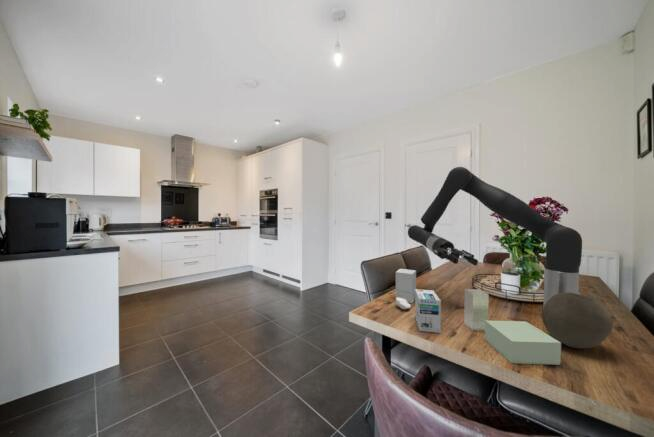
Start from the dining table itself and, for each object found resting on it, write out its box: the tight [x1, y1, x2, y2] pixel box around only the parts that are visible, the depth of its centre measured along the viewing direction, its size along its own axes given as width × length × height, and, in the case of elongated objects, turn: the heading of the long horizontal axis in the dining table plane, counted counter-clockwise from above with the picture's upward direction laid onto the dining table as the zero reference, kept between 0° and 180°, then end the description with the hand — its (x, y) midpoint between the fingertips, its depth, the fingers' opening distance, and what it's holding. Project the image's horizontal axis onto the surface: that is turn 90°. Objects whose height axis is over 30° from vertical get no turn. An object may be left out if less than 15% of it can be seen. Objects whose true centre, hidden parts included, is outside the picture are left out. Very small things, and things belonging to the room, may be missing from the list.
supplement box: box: [395, 268, 417, 304], centre depth 109 cm, size 7×7×13 cm
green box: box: [484, 320, 562, 366], centre depth 69 cm, size 12×12×6 cm
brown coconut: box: [541, 293, 614, 350], centre depth 72 cm, size 14×14×15 cm
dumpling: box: [395, 297, 412, 311], centre depth 99 cm, size 7×5×4 cm
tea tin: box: [463, 288, 490, 331], centre depth 83 cm, size 5×5×12 cm
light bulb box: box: [414, 288, 442, 334], centre depth 85 cm, size 11×7×11 cm, turn 168°
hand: (467, 262), depth 91 cm, fingers open, 8 cm apart
